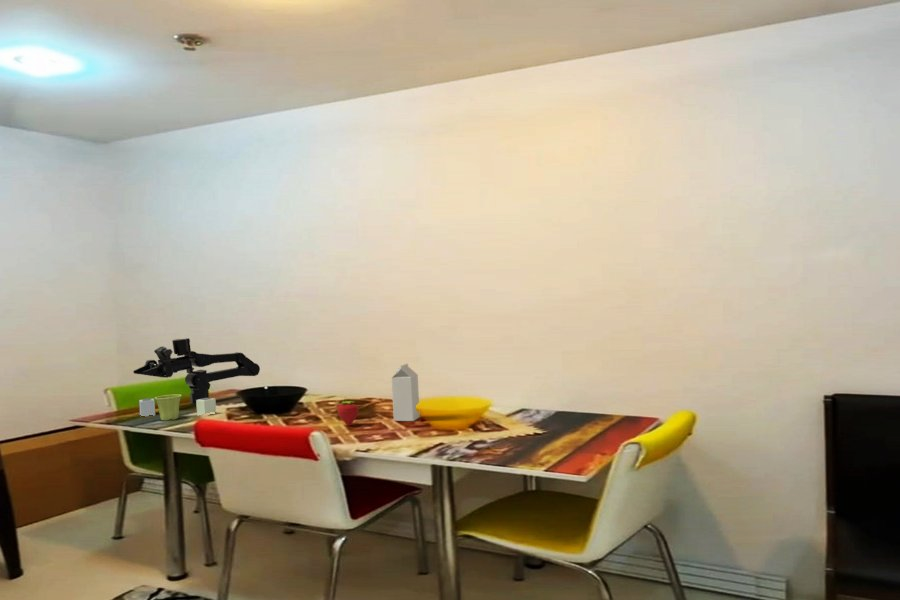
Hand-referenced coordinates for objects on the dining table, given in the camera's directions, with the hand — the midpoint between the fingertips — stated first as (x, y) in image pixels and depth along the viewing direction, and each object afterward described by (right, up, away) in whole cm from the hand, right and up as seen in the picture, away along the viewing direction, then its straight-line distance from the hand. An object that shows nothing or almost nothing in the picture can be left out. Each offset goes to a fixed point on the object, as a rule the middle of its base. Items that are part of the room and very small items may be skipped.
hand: (138, 372), depth 271 cm
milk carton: (+110, -12, -37) cm, 116 cm away
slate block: (+6, -16, -4) cm, 18 cm away
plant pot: (+19, -16, -15) cm, 29 cm away
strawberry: (+91, -13, -44) cm, 102 cm away
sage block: (+31, -15, -9) cm, 35 cm away
